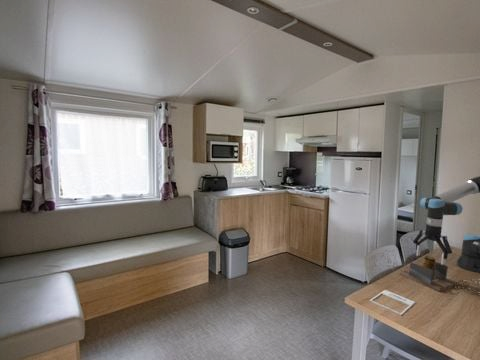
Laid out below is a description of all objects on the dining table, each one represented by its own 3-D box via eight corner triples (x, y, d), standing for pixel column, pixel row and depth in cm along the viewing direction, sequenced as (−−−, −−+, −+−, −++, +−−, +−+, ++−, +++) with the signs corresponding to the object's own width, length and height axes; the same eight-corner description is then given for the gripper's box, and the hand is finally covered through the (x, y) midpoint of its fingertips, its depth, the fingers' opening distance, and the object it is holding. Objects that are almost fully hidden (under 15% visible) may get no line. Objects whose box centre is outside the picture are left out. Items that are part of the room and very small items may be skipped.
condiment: (427, 274, 166) (429, 255, 164) (440, 280, 157) (442, 261, 156) (417, 274, 164) (419, 255, 163) (430, 281, 156) (432, 261, 154)
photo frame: (415, 301, 135) (401, 314, 124) (414, 303, 135) (401, 316, 124) (384, 289, 146) (369, 299, 135) (384, 291, 146) (369, 301, 135)
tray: (416, 270, 175) (418, 255, 174) (455, 285, 156) (458, 269, 155) (399, 274, 167) (401, 259, 166) (439, 292, 148) (441, 274, 147)
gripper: (408, 220, 167) (405, 252, 169) (455, 231, 145) (450, 268, 147) (415, 219, 171) (412, 251, 173) (462, 230, 148) (457, 266, 151)
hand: (430, 259), depth 160 cm, fingers open, 13 cm apart
